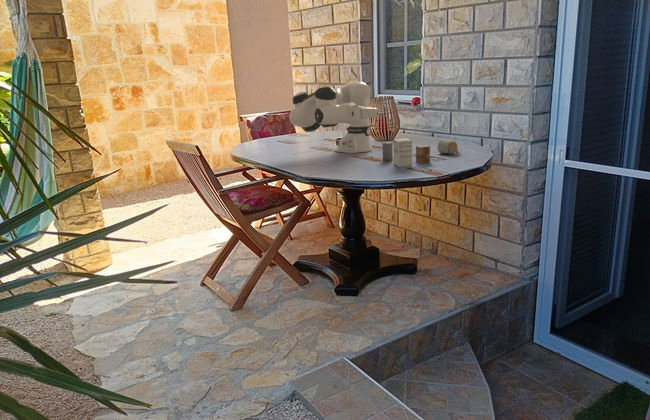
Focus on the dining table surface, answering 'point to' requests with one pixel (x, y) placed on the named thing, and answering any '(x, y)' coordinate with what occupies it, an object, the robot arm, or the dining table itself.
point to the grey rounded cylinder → (387, 151)
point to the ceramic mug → (447, 146)
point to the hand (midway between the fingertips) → (377, 109)
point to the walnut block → (423, 154)
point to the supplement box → (403, 152)
